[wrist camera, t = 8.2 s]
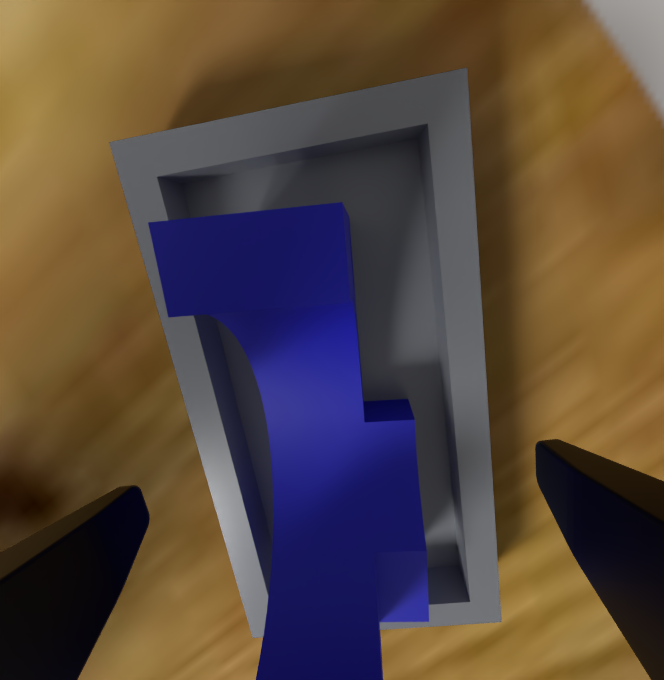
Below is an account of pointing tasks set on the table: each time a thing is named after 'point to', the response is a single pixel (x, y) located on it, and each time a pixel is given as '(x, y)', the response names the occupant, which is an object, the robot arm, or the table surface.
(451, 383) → the tray
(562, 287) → the table surface
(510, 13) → the table surface
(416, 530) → the blue curved cradle
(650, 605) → the robot arm
